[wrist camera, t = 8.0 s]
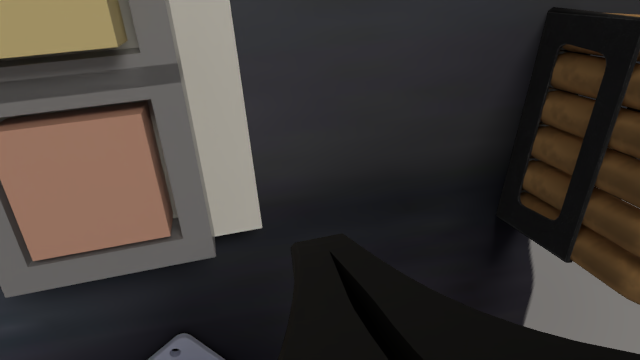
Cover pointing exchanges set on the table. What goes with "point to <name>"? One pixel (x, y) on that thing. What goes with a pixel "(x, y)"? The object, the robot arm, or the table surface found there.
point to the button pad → (169, 127)
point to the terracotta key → (85, 179)
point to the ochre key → (59, 26)
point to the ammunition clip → (582, 147)
